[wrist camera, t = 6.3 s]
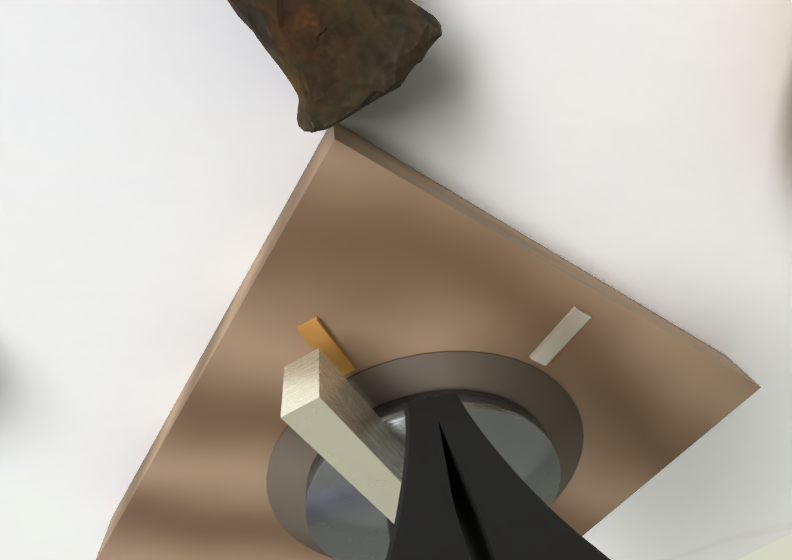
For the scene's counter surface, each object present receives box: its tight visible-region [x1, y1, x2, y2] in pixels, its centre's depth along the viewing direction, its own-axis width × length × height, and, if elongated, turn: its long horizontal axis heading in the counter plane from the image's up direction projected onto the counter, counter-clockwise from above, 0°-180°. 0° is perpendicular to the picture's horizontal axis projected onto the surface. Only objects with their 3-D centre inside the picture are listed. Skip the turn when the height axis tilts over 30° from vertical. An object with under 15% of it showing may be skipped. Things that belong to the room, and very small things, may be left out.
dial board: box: [96, 124, 761, 560], centre depth 21 cm, size 20×20×2 cm
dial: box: [281, 348, 561, 560], centre depth 17 cm, size 14×10×3 cm
